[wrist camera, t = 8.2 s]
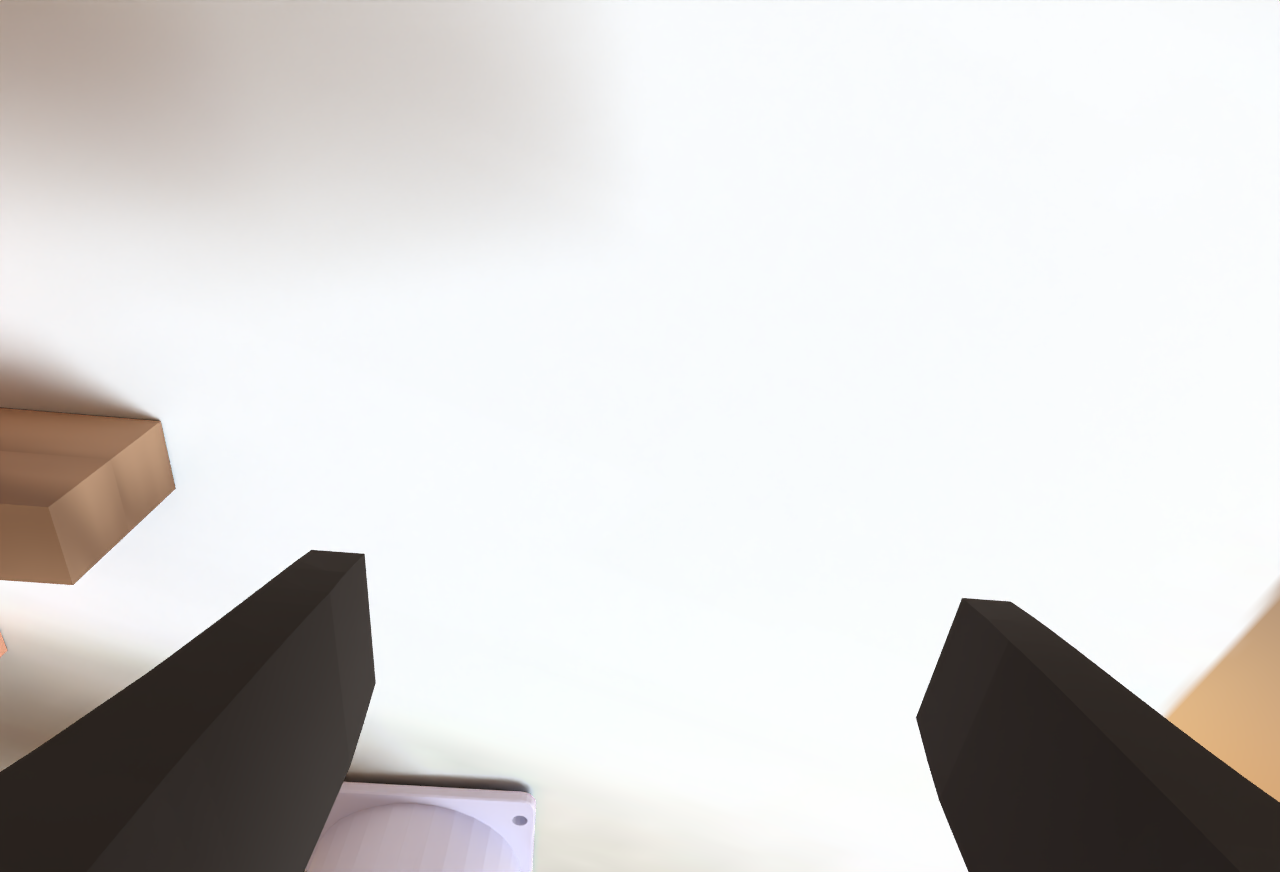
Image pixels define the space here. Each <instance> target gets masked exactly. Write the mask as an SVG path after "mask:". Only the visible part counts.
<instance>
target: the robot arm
mask: <svg viewBox="0 0 1280 872" xmlns="http://www.w3.org/2000/svg"><path fill="white" fill-rule="evenodd" d="M374 686H375V671H374V659H373V648H372V636H371V624H370V613H369V601H368V589H367V578H366V566H365V555H364V554H359V553H345V552H332V551H318V550H311V551H309V552H308V553H307V554H305V555H304V556H302V557H301V558H300V559H298V560H297V561H296V562H294V563H293V564H292V565H290V566H289V567H288V568H286V569H285V570H284V571H282V572H281V573H280V574H278V575H277V576H276V577H275V578H273V579H272V580H271V581H269V582H268V583H267V584H265V585H264V586H263V587H262V588H260V589H259V590H258V591H256V592H255V593H254V594H252V595H251V596H250V597H248V598H247V599H246V600H245V601H243V602H242V603H241V604H239V605H238V606H237V607H235V608H234V609H233V610H231V611H230V612H229V613H227V614H226V615H225V616H223V617H222V618H221V619H220V620H218V621H217V622H216V623H214V624H213V625H212V626H210V627H209V628H208V629H206V630H205V631H204V632H202V633H201V634H199V635H198V636H197V637H195V638H194V639H193V640H191V641H190V642H189V643H187V644H186V645H185V646H183V647H182V648H181V649H179V650H178V651H177V652H175V653H174V654H172V655H171V656H170V657H168V658H167V659H166V660H164V661H163V662H162V663H160V664H159V665H158V666H156V667H155V668H154V669H152V670H151V671H149V672H148V673H147V674H145V675H144V676H142V677H141V678H139V679H138V680H136V681H135V682H133V683H132V684H131V685H129V686H128V687H126V688H125V689H123V690H122V691H120V692H119V693H117V694H116V695H114V696H113V697H112V698H110V699H109V700H107V701H106V702H104V703H103V704H101V705H100V706H98V707H97V708H95V709H94V710H93V711H91V712H90V713H88V714H87V715H85V716H84V717H82V718H81V719H79V720H78V721H76V722H75V723H74V724H72V725H71V726H69V727H68V728H66V729H65V730H63V731H62V732H60V733H59V734H57V735H56V736H55V737H53V738H52V739H50V740H49V741H47V742H46V743H44V744H43V745H41V746H40V747H38V748H37V749H35V750H34V751H32V752H31V753H29V754H28V755H26V756H24V757H23V758H21V759H20V760H18V761H17V762H15V763H14V764H12V765H10V766H9V767H7V768H6V769H4V770H3V771H1V772H0V872H304V871H305V869H306V872H532V867H533V849H534V832H535V814H536V800H535V798H534V797H533V796H532V795H531V794H529V793H527V792H520V791H502V790H484V789H466V788H448V787H430V786H412V785H394V784H376V783H358V782H344V779H345V777H346V774H347V772H348V770H349V767H350V765H351V762H352V758H353V755H354V752H355V749H356V746H357V743H358V740H359V736H360V733H361V730H362V727H363V724H364V720H365V717H366V713H367V710H368V707H369V703H370V700H371V696H372V693H373V690H374ZM916 719H917V723H918V726H919V730H920V734H921V738H922V742H923V745H924V749H925V753H926V757H927V761H928V764H929V767H930V771H931V774H932V778H933V781H934V784H935V788H936V791H937V794H938V798H939V801H940V803H941V806H942V808H943V811H944V813H945V816H946V818H947V821H948V823H949V826H950V828H951V830H952V833H953V835H954V838H955V840H956V843H957V845H958V847H959V850H960V852H961V855H962V857H963V859H964V862H965V864H966V867H967V869H968V872H1280V802H1278V801H1277V800H1275V799H1274V798H1272V797H1271V796H1270V795H1268V794H1267V793H1265V792H1264V791H1263V790H1261V789H1260V788H1258V787H1257V786H1256V785H1254V784H1253V783H1251V782H1250V781H1248V780H1247V779H1246V778H1244V777H1243V776H1242V775H1240V774H1239V773H1238V772H1236V771H1235V770H1234V769H1232V768H1231V767H1230V766H1228V765H1227V764H1226V763H1224V762H1223V761H1221V760H1220V759H1219V758H1217V757H1216V756H1215V755H1213V754H1212V753H1211V752H1209V751H1208V750H1206V749H1205V748H1204V747H1203V746H1201V745H1200V744H1199V743H1197V742H1196V741H1195V740H1193V739H1192V738H1191V737H1189V736H1188V735H1187V734H1185V733H1184V732H1183V731H1181V730H1180V729H1179V728H1177V727H1176V726H1175V725H1174V724H1172V723H1171V722H1169V721H1168V720H1167V719H1166V718H1164V717H1163V716H1162V715H1160V714H1159V713H1158V712H1157V711H1155V710H1154V709H1153V708H1151V707H1150V706H1149V705H1147V704H1146V703H1145V702H1144V701H1142V700H1141V699H1140V698H1138V697H1137V696H1136V695H1134V694H1133V693H1132V692H1131V691H1129V690H1128V689H1127V688H1125V687H1124V686H1123V685H1122V684H1120V683H1119V682H1118V681H1116V680H1115V679H1114V678H1113V677H1111V676H1110V675H1109V674H1107V673H1106V672H1105V671H1104V670H1102V669H1101V668H1100V667H1098V666H1097V665H1096V664H1095V663H1093V662H1092V661H1091V660H1089V659H1088V658H1087V657H1085V656H1084V655H1083V654H1082V653H1080V652H1079V651H1078V650H1076V649H1075V648H1074V647H1072V646H1071V645H1070V644H1069V643H1067V642H1066V641H1065V640H1063V639H1062V638H1061V637H1059V636H1058V635H1057V634H1055V633H1054V632H1053V631H1051V630H1050V629H1049V628H1047V627H1046V626H1045V625H1043V624H1042V623H1041V622H1039V621H1038V620H1036V619H1035V618H1034V617H1032V616H1031V615H1029V614H1028V613H1027V612H1025V611H1024V610H1022V609H1021V608H1019V607H1018V606H1016V605H1015V604H1013V603H1012V602H1008V601H994V600H980V599H967V598H962V600H961V603H960V605H959V608H958V610H957V613H956V616H955V618H954V621H953V623H952V626H951V629H950V631H949V634H948V636H947V639H946V641H945V644H944V647H943V649H942V652H941V654H940V657H939V660H938V662H937V665H936V667H935V670H934V673H933V675H932V678H931V680H930V683H929V685H928V688H927V691H926V693H925V696H924V698H923V701H922V704H921V706H920V709H919V711H918V714H917V716H916Z"/></svg>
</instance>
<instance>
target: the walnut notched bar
mask: <svg viewBox="0 0 1280 872" xmlns="http://www.w3.org/2000/svg"><path fill="white" fill-rule="evenodd" d="M175 489H176V488H175V484H174V479H173V475H172V470H171V466H170V461H169V457H168V452H167V448H166V443H165V438H164V434H163V429H162V425H161V421H152V420H140V419H128V418H116V417H104V416H92V415H80V414H68V413H56V412H44V411H32V410H20V409H8V408H0V580H9V581H23V582H37V583H52V584H66V585H74V584H75V583H76V582H77V581H78V580H79V579H80V578H81V577H82V576H83V575H84V574H85V573H86V572H87V571H88V570H89V569H91V568H92V567H93V566H94V565H95V564H96V563H97V562H98V561H99V560H100V559H101V558H102V557H103V556H104V555H105V554H107V553H108V552H109V551H110V550H111V549H112V548H113V547H114V546H115V545H116V544H117V543H118V542H119V541H120V540H121V539H122V538H124V537H125V536H126V535H127V534H128V533H129V532H130V531H131V530H132V529H133V528H134V527H135V526H136V525H137V524H138V523H139V522H141V521H142V520H143V519H144V518H145V517H146V516H147V515H148V514H149V513H150V512H151V511H152V510H153V509H154V508H155V507H157V506H158V505H159V504H160V503H161V502H162V501H163V500H164V499H165V498H166V497H167V496H168V495H169V494H170V493H171V492H172V491H174V490H175Z"/></svg>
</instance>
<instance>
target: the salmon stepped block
mask: <svg viewBox="0 0 1280 872" xmlns="http://www.w3.org/2000/svg"><path fill="white" fill-rule="evenodd" d="M6 651H7V648H6V645H5V643H4V640H3V638H2V635H1V633H0V657H1V656H2V655H3V654H4V653H5V652H6Z"/></svg>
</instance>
